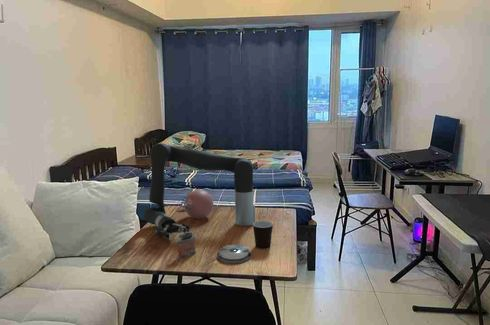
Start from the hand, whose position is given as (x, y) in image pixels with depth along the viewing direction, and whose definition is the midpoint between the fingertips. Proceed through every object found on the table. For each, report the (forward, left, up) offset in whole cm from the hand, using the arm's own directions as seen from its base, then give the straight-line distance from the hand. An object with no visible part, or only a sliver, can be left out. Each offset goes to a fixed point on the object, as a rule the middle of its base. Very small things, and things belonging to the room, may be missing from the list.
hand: (178, 234), depth 162 cm
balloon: (-22, -32, -6) cm, 39 cm away
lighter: (0, +9, -6) cm, 11 cm away
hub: (-16, +20, -6) cm, 27 cm away
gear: (-27, -51, -6) cm, 58 cm away
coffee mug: (-33, +17, -6) cm, 38 cm away
